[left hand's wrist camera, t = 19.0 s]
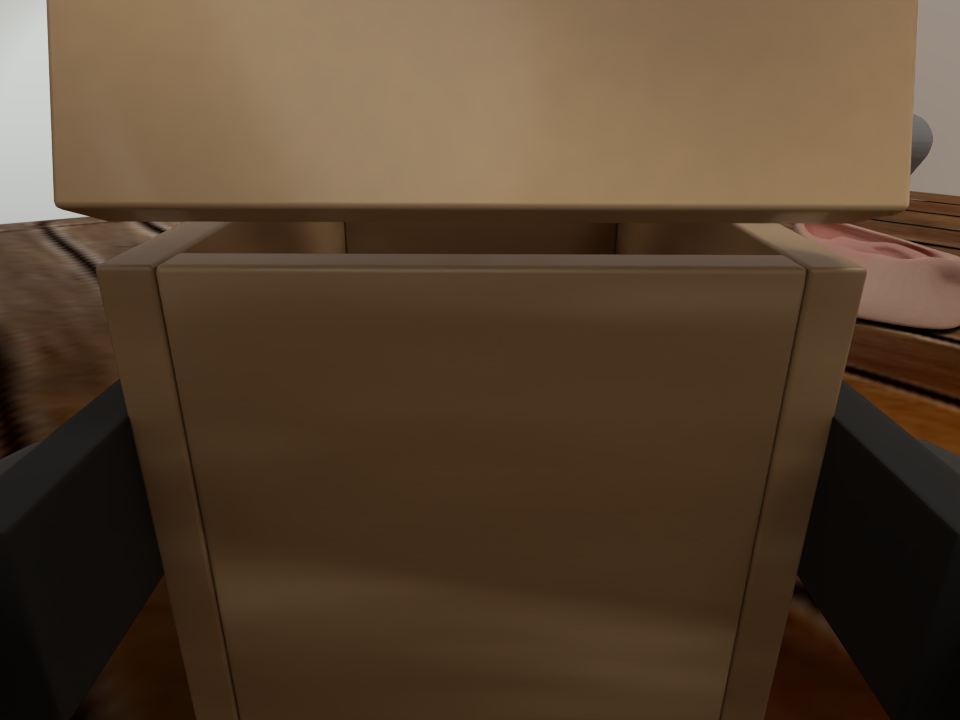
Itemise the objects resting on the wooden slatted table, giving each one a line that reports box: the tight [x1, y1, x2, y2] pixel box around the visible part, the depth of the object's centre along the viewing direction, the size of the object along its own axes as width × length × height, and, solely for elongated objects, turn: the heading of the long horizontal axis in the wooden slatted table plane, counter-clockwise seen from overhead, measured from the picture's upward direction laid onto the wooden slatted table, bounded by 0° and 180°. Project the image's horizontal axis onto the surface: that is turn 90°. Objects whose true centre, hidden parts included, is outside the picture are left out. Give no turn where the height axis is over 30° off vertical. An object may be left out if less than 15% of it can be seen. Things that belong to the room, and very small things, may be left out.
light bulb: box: [910, 114, 933, 175], centre depth 71 cm, size 6×6×10 cm
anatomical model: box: [794, 224, 960, 330], centre depth 43 cm, size 13×4×12 cm
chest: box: [96, 222, 867, 720], centre depth 16 cm, size 13×10×11 cm
